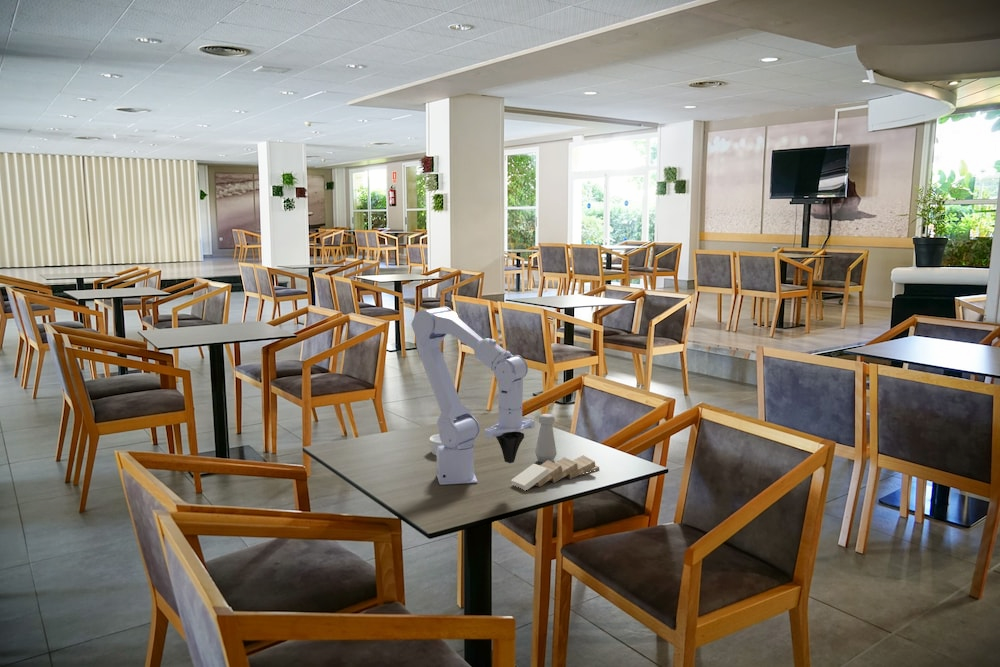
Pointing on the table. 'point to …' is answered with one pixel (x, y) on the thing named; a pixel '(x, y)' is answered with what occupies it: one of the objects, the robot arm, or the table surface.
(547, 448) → the salt shaker
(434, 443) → the ramekin
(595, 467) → the domino
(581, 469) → the domino
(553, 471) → the domino
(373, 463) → the table surface
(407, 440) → the table surface
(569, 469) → the domino
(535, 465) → the front domino
